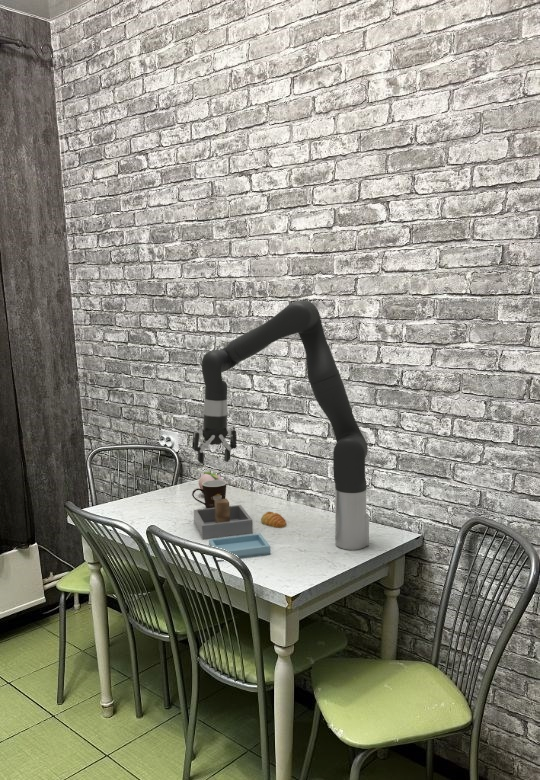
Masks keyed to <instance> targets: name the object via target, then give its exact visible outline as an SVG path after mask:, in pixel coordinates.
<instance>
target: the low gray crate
mask: <svg viewBox="0 0 540 780" xmlns="http://www.w3.org/2000/svg"><path fill="white" fill-rule="evenodd" d="M229 510H230V521H229V522H221V523H215V508H206V507H205V508H199V509H193V523H194V526H195V528H196V530H197V532H198V533H199V535H200V537H201V539H202V541H203V540H209V539H217V538H225V537H233V536H242V535H250V534H254V526H253V522H254V521H253V519H252V517H251V516H250V515H249V513H248V512H247V511H246V509H244V507H243V506H242V505H241V504H236V505H229Z"/></svg>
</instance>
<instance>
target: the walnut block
mask: <svg viewBox="0 0 540 780" xmlns="http://www.w3.org/2000/svg"><path fill="white" fill-rule="evenodd" d="M229 506H230V501H229V500H228V498H225V499H217V500H215V523H221V522H229V521H230V510H229Z"/></svg>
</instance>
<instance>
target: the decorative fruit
mask: <svg viewBox="0 0 540 780" xmlns="http://www.w3.org/2000/svg"><path fill="white" fill-rule="evenodd" d="M209 480H223V478H222V477H221V476H220V475H219V474H216V473H213V472H212V470H209V471H204V472H203V474H202V475H201V476H200V477H199V479H198V487H199V489H203V487H202V483H203V482H205V481H209Z"/></svg>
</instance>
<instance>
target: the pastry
mask: <svg viewBox="0 0 540 780" xmlns="http://www.w3.org/2000/svg"><path fill="white" fill-rule="evenodd" d="M260 522H261V523H262V525H265V526H268V527H272V528H275V529H283V528H286V527H287V521H286V519H285V518H284V517H283V516H282V515H281V514H279V513H278V512H273V511H266V512H265V513H264V514H263V515H262V517H261V519H260Z"/></svg>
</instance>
